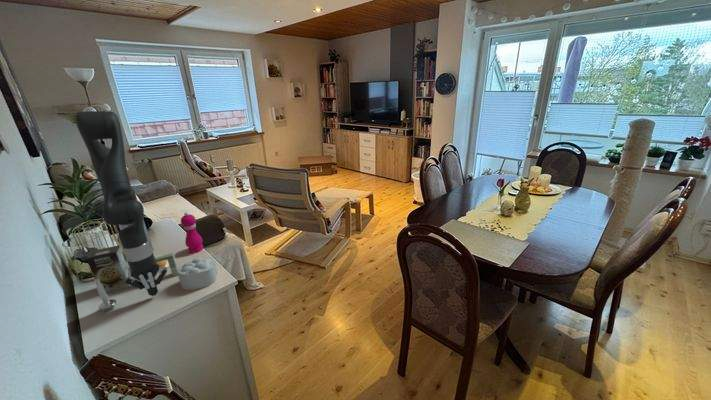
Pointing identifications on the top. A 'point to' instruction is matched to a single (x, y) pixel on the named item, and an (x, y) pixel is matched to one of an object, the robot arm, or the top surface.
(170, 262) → the bridge
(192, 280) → the lumpy-topped squat cylinder
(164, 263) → the ball
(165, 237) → the top surface
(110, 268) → the coffee box
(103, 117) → the robot arm
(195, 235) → the pepper mill
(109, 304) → the screw
